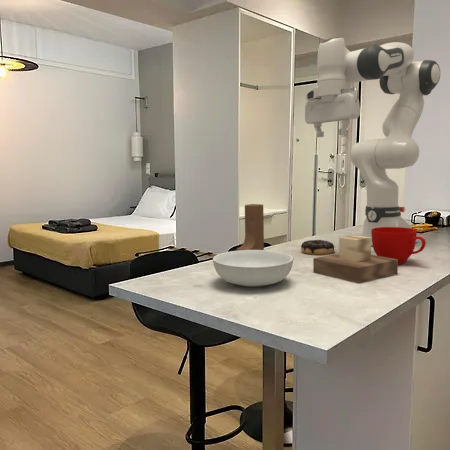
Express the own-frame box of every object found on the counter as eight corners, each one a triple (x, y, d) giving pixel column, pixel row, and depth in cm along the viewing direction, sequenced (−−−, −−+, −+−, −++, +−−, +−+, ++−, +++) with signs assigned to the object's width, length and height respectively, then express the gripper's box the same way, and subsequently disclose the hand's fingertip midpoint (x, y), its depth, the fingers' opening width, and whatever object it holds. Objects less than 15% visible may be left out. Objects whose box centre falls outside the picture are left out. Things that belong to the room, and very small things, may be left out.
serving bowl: (207, 293, 109) (206, 265, 108) (219, 273, 130) (219, 249, 129) (293, 294, 106) (293, 266, 105) (292, 273, 127) (292, 249, 126)
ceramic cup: (410, 271, 126) (411, 235, 125) (361, 261, 140) (362, 229, 139) (437, 264, 133) (438, 231, 132) (388, 256, 147) (389, 225, 146)
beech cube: (353, 255, 129) (353, 235, 128) (370, 259, 124) (371, 237, 123) (339, 258, 126) (339, 237, 125) (356, 262, 121) (356, 240, 120)
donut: (294, 253, 157) (294, 241, 157) (316, 248, 165) (316, 237, 164) (319, 257, 149) (319, 245, 148) (341, 252, 156) (341, 241, 156)
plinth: (351, 264, 136) (351, 251, 136) (397, 273, 123) (397, 259, 123) (313, 272, 127) (313, 258, 127) (358, 283, 114) (359, 268, 114)
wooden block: (247, 264, 140) (246, 206, 138) (236, 262, 143) (235, 206, 141) (264, 259, 147) (263, 204, 144) (253, 257, 150) (252, 203, 147)
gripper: (364, 86, 135) (364, 133, 136) (315, 96, 152) (315, 138, 153) (350, 85, 131) (350, 133, 133) (301, 95, 148) (301, 138, 150)
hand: (331, 136), depth 143 cm, fingers open, 8 cm apart
